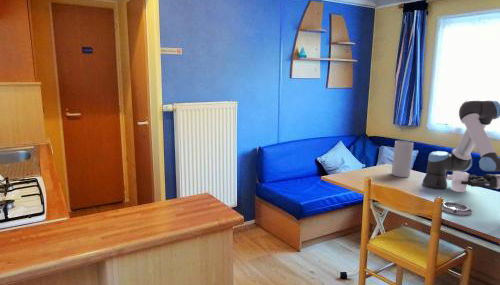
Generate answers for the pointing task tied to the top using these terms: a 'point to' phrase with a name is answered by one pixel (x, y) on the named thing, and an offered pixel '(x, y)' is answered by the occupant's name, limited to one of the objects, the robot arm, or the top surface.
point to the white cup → (459, 176)
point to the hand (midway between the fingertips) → (450, 179)
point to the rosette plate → (456, 209)
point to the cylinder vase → (402, 158)
